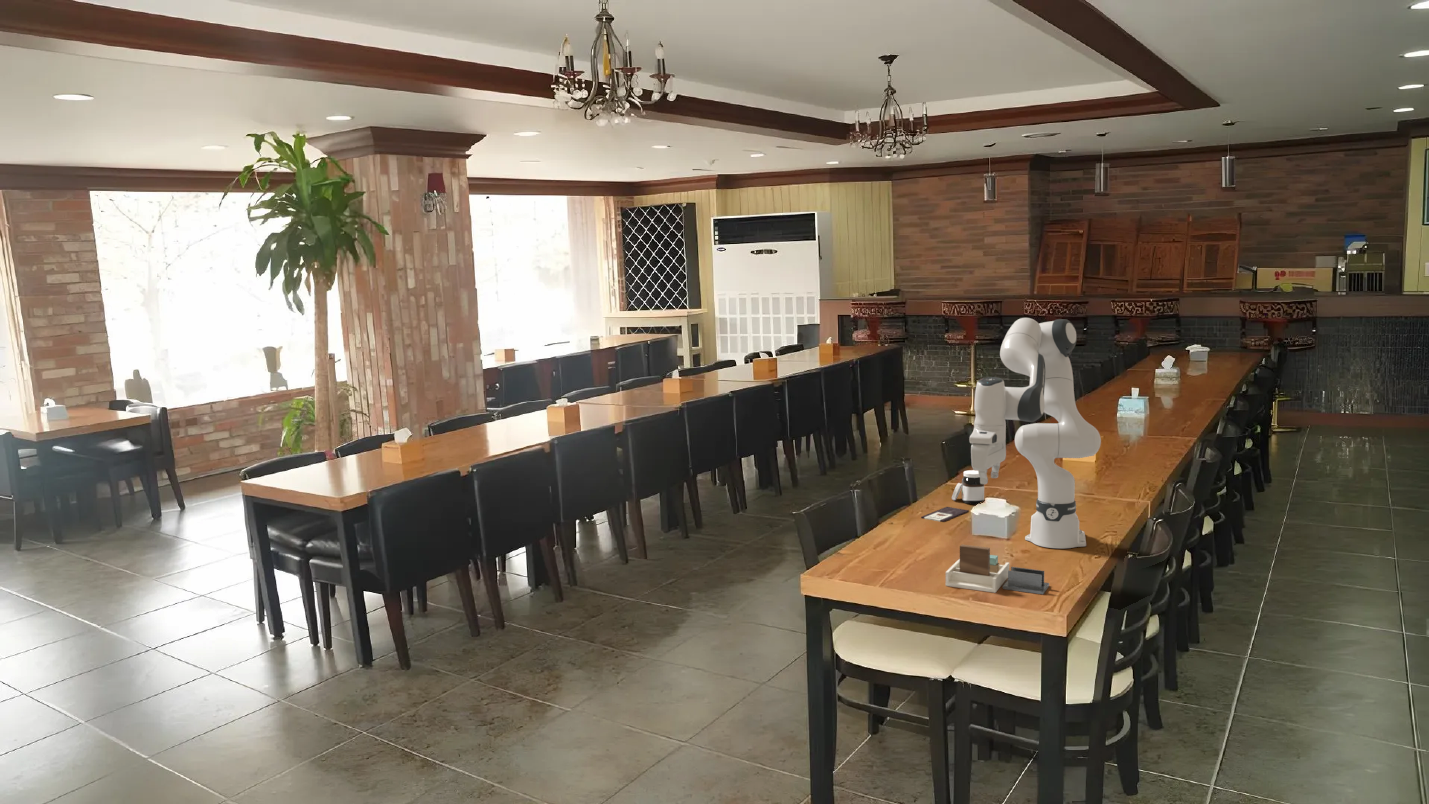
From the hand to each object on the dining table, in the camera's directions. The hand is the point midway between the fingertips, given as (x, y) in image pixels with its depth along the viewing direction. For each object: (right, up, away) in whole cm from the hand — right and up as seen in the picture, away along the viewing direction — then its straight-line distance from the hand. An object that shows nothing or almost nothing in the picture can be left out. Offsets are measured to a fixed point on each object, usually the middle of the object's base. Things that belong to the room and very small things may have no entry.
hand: (989, 480), depth 281 cm
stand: (+7, -29, -11) cm, 32 cm away
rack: (-4, -28, -4) cm, 29 cm away
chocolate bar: (+3, -19, +68) cm, 71 cm away
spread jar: (+16, -15, +86) cm, 89 cm away
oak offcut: (-2, -27, 0) cm, 27 cm away
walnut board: (-6, -28, -7) cm, 29 cm away
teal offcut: (-2, -24, 0) cm, 24 cm away
